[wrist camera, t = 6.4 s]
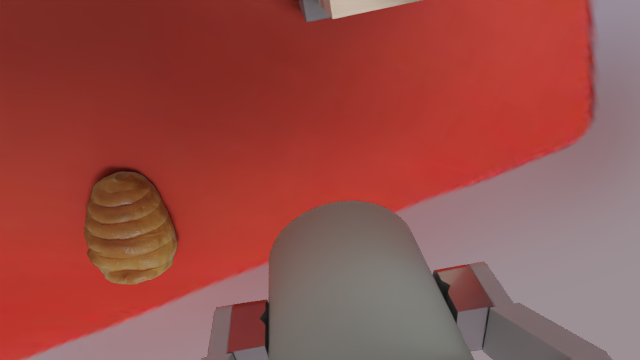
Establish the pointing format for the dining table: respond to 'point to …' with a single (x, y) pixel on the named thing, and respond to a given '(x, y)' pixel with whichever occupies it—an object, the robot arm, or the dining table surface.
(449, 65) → the dining table surface
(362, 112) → the dining table surface
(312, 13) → the tower base
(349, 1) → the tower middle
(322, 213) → the grey round cylinder
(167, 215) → the pastry
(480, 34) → the dining table surface
